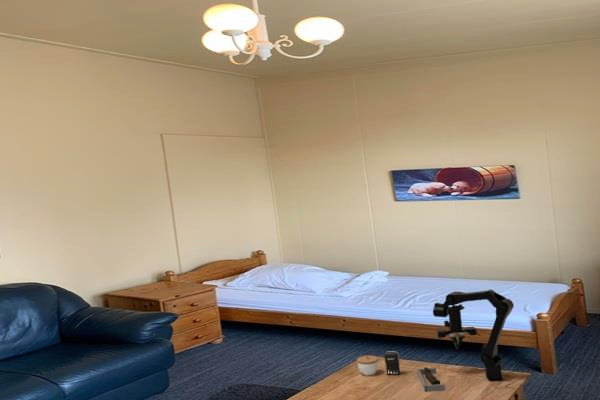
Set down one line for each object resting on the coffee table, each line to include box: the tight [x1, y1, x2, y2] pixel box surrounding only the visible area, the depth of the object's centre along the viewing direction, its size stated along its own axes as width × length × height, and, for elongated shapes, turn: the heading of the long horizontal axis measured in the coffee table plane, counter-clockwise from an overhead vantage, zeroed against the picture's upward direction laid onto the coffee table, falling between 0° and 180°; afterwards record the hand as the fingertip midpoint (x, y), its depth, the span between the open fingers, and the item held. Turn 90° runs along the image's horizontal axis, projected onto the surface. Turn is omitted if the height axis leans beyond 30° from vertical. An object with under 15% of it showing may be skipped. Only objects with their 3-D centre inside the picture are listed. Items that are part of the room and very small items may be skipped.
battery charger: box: [384, 350, 401, 376], centre depth 296 cm, size 7×4×11 cm, turn 70°
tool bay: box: [417, 367, 446, 392], centre depth 281 cm, size 9×24×2 cm, turn 177°
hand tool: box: [423, 367, 441, 385], centre depth 281 cm, size 19×4×5 cm, turn 1°
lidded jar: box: [356, 354, 379, 377], centre depth 300 cm, size 11×11×9 cm
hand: (457, 349), depth 287 cm, fingers closed
